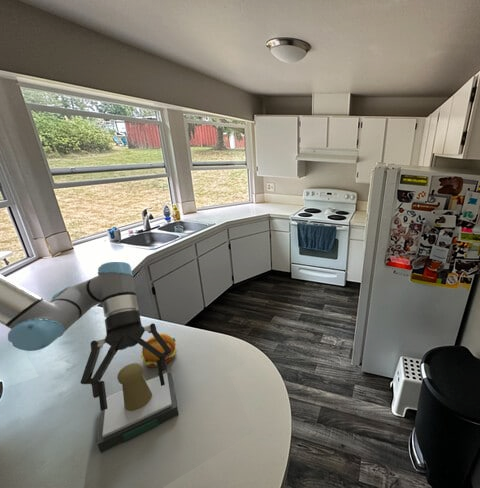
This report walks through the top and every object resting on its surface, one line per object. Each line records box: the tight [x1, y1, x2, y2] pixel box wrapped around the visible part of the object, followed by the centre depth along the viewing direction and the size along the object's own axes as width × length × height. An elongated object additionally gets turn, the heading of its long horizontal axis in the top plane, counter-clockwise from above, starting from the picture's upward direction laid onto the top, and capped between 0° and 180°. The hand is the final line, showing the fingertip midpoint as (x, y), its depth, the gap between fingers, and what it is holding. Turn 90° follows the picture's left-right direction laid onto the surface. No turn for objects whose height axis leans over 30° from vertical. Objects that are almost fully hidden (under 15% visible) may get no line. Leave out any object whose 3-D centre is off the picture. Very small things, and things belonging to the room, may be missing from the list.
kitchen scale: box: [96, 371, 180, 453], centre depth 67 cm, size 16×14×4 cm
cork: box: [117, 362, 152, 411], centre depth 65 cm, size 6×6×11 cm
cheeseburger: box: [141, 333, 178, 368], centre depth 83 cm, size 10×11×10 cm
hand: (135, 396), depth 63 cm, fingers open, 11 cm apart
